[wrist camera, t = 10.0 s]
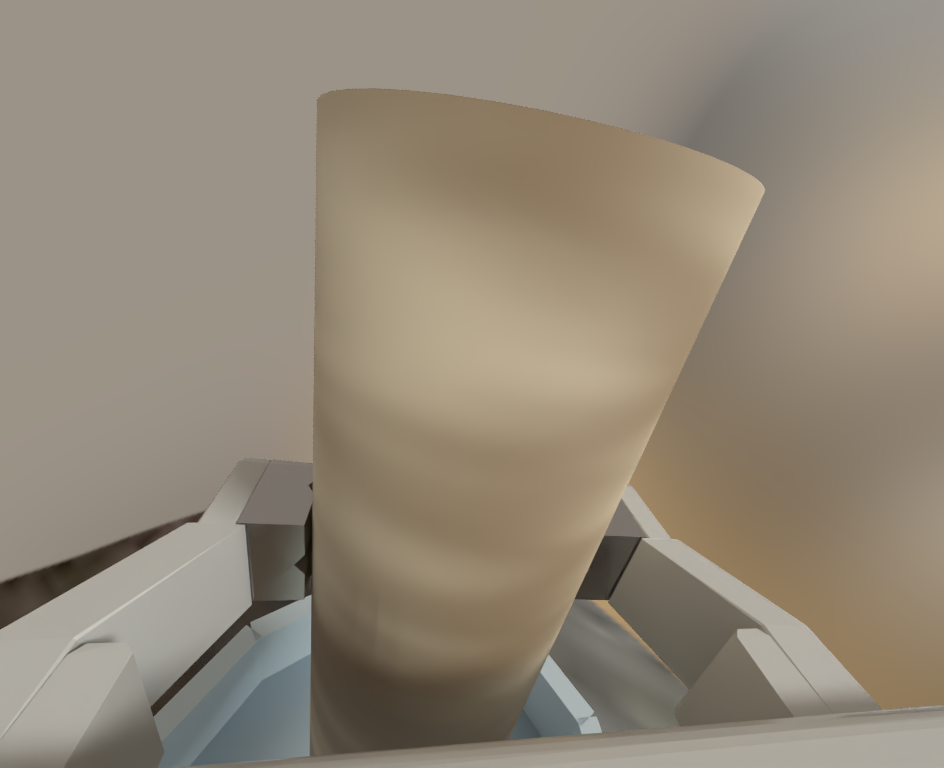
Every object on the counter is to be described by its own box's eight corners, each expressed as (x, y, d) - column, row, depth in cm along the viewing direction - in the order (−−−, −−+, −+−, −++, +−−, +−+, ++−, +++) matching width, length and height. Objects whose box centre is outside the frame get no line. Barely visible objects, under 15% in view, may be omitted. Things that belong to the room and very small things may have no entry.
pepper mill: (283, 884, 8) (218, 17, 2) (330, 635, 12) (355, 138, 6) (510, 851, 9) (916, 209, 3) (479, 632, 13) (618, 200, 7)
